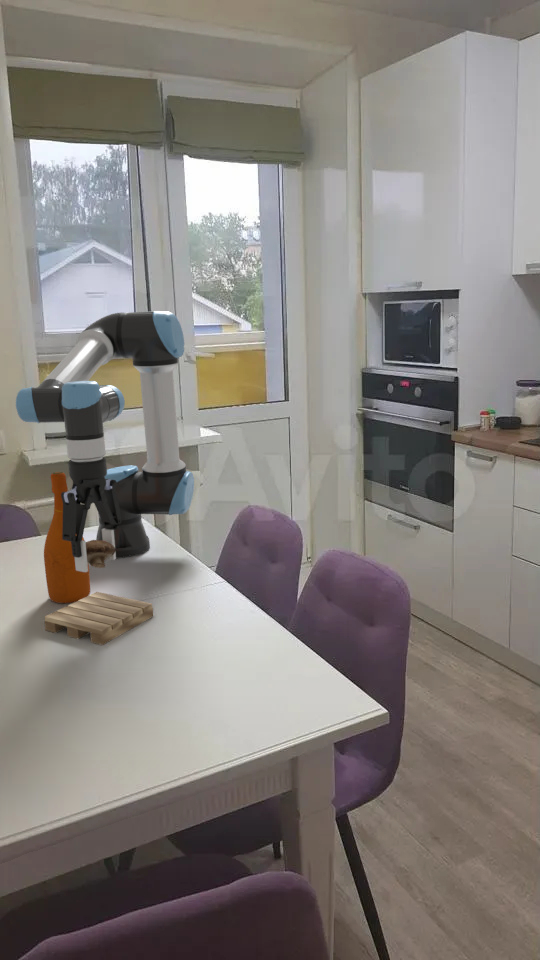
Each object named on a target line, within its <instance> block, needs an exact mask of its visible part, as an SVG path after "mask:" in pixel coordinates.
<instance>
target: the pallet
mask: <svg viewBox="0 0 540 960" xmlns="http://www.w3.org/2000/svg"><path fill="white" fill-rule="evenodd" d="M153 617H154V607H153V603H151V602H147V601H142V600H139V599H138V600H137V599H132V598H129V597H128V598H127V597H124V596H119V595H114V594H110V593H109V594H108V593H105V592H100V591H96V592H93V593H91V594H89V595H88V596H87V597H85V598H83V599H80V600H78V601H76V602H73V603H69V604H68V605H66V606H64V607H62V608H60V609H57V610H55V611H53V612H51V613H49V614H47V615H45V616H44V628H45V629H44V630H45V631H47V632H51V633H55V634H56V633H58V632H60V631H62V630H64V629H66V632H67V637H69V638H74V639H81V638H83V637H85V636H87V635H88V634H90V635H89V636H90V642H91V643H93V644H96V645H100V646H104V645H105V644H107V643H109V642H110V641H113V640H115V639H116V638H117V637H119V636H121V635H123V634H124V633H126V632H128V631H130V630H131V629H134V628H135V627H138V626H139V625H140V624H142V623H144V622H145V621H147V620H149V619H151V618H153Z"/></svg>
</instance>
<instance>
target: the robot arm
mask: <svg viewBox="0 0 540 960" xmlns="http://www.w3.org/2000/svg"><path fill="white" fill-rule="evenodd" d="M184 353H185V337H184V332H183V328H182V324H181V322H180V321H179V319H178V316H176V314H174V313H173V312H170V311H165V310H164V311H163V310H162V311H161V310H153V311H152V310H151V311H137V312H135V311H133V312H131V311H130V312H115V313H110V314H108V315H105V316H103V317H101V318H99V319H98V320H96V321H94V322H93V323H91V324H90V325H88V326H87V327H86V328H85V329H83V331H82V332H81V333H80V334H79V335H78V336H77V339H76V342H75V346H73V347H72V349H71V350H69V352H68V353H67V354H66V355H65V356H64V357H63V359H62V360H60V362H59V363H58V364H57V365H56V366H55V367H54V369H53V370H52V371H51V372H50V373H48V375H47V376H46V377H45V379H43V380H42V382H41V383H40V384H39V385H38V386H36V387H33V386H30V387H25V388H24V387H23V388H21V389H20V390H19V391H18V392H17V393H16V398H15V409H16V412H17V415H18V417H19V418H20V420H22V421H23V422H25V423H37V424H42V423H48V424H49V423H64V428H65V429H64V431H65V441H66V442H65V443H66V453H67V454H66V455H67V458H69V461H68V462H67V464H68V466H67V467H68V475H69V478H70V479H71V480H72V485H71V489H70V490H68V491H67V492H62V493H61V498H62V501H63V528H62V539H63V540H66V541H70V542H71V545H72V555H73V557H75V567H76V571H81V572H88V564H87V553H86V542H87V541H86V540H84V541H83V540H82V537H83V536H84V532H85V527H86V523H87V522H86V521H87V517H88V511H89V510H90V509H91V505H92V504H94V506H95V508H96V511H97V514H98V528H97V532H96V533H97V534H96V538H95V540H102V541H107V542H109V543H110V544H112V545H113V546H114V547H115V553H114V555H113V556H112V557H110V558H109V559H108V560H111V561H115V560H116V559H118V558H128V557H132V556H133V557H134V556H137V555H141V554H144V553H145V552H147V551H149V550H150V549H151V546H150V545H151V544H150V537H149V535H147V531H146V529H145V526H144V523H143V520H142V515H165V516H166V515H168V516H172V515H174V516H175V515H183V514H185V513H187V512H188V511H189V509H190V507H191V504H192V500H193V496H194V491H195V478H194V477H195V476H194V474H193V472H191V471H189V470H187V468H186V467H187V466H186V465H187V464H186V463H185V462H184V461H183V460H181V458H180V450H179V449H180V447H179V446H180V445H179V435H178V423H177V422H178V421H177V412H176V411H177V410H176V409H177V408H176V398H175V397H176V396H175V382H174V381H175V380H174V369H175V368H176V366H178V364H179V358H181V357H182V356H183V355H184ZM115 359H132V367H133V368H135V369H136V370H137V371H138V372H139V378H140V380H139V381H140V391H141V401H142V404H141V405H142V413H143V425H144V427H143V428H144V435H145V436H144V437H145V447H146V462H145V463H144V465H143V466H142V468H141V469H142V471H139V468H138V466H137V465H131V464H129V465H121V466H116V467H112V468H108V467H107V459H106V458H105V456H106V444H105V433H104V423H106V422H110V421H112V420H114V419H116V418H118V417H119V416H120V415H121V414H122V412H123V411H124V408H125V404H126V403H125V402H126V401H125V397H124V394H123V393H122V391H121V390H120V389H119V388H118V387H116V386H114V385H110V384H104V385H103V384H100V385H99V383H98V382H97V381H95V380H90V379H91V378H92V377H93V376H94V374H95V373H96V372H97V370H99V368H100V367H101V366H104V365H106V364H107V363H109V362H110V361H111V360H115ZM76 534H77V536H76ZM83 538H84V537H83Z"/></svg>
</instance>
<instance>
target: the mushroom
mask: <svg viewBox="0 0 540 960" xmlns="http://www.w3.org/2000/svg"><path fill="white" fill-rule="evenodd" d="M85 542H86V553H87V564H89V565H90V566H91V567H93V568H96V569H104V568H106V567H107V566H106V563H105V561H106V560H110V559H109V558H110V557H112V556H113V555H114V553H115V547H114V546H113V545H112V544H110V543H109V542H107V541H102V540H96V539H91V540H88V541H85Z"/></svg>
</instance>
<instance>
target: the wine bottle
mask: <svg viewBox="0 0 540 960" xmlns="http://www.w3.org/2000/svg"><path fill="white" fill-rule="evenodd" d="M50 481H51V492H52V493H53V494H54V497H53V500H54V502H53V503H54V504H53V505H54V506H53V515H52V519H51V522H50V525H49V528H48V532H47V534H46V538H45V542H44V546H43V547H44V548H43V561H44V563H43V564H44V570H45V571H44V572H45V573H44V574H45V580H46V586H47V593H48V597H49V599H50V600H51V601H52V602H53V603H56V604H72V603H74V602H76V601H77V602H78V600H80V599H83V598H85V597H88V596H89V595H91V594H90V593H91V577H90V574H91V573H90V564H88V572H81V571H76V567H75V557H73V555H72V545H71V542H70V541H66V540H63V539H62V528H63V501H62V498H61V493H62V492H68V491H69V488H68V484H67V475H66V473H65V472H63V471H55V472H53V473H51V475H50ZM76 536H77V534H76ZM82 540H83V541H85V539H84V537H82Z"/></svg>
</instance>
